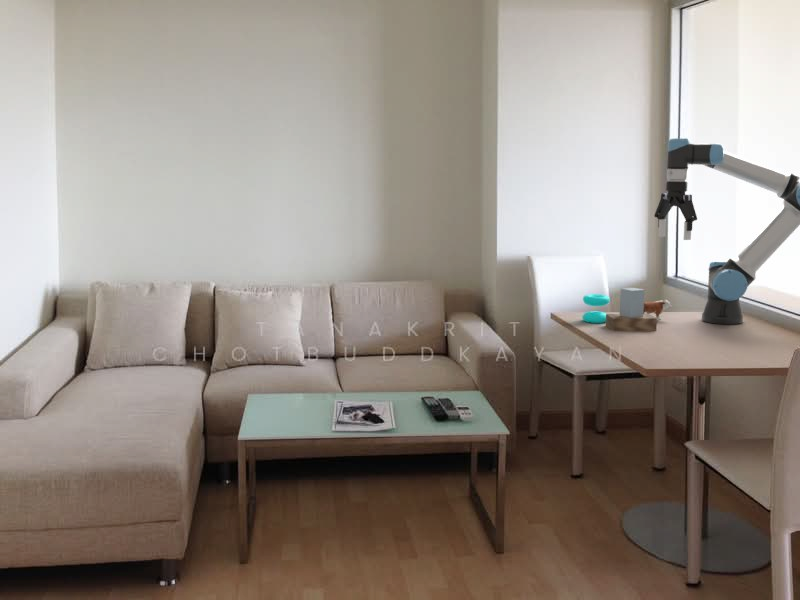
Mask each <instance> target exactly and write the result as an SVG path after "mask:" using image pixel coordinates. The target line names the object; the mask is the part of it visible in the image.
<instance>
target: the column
mask: <svg viewBox="0 0 800 600" xmlns="http://www.w3.org/2000/svg"><path fill="white" fill-rule="evenodd" d="M644 302H645V289H642V288H638V287H626V288H620V300H619V314H620V316H625V317H629V318H635V317H643V309H644Z"/></svg>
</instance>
